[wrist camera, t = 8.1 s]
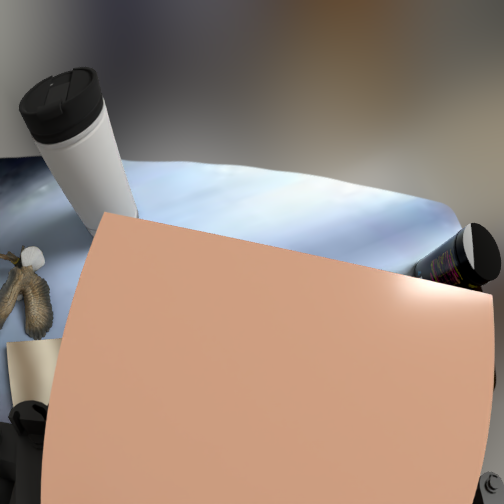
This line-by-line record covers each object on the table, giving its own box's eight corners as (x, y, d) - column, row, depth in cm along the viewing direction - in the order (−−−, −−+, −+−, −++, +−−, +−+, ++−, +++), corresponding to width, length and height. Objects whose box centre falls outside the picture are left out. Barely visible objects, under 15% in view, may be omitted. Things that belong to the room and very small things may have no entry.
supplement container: (455, 291, 36) (507, 263, 27) (428, 317, 34) (485, 292, 25) (431, 250, 38) (479, 214, 29) (402, 272, 36) (453, 236, 27)
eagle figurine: (-5, 272, 28) (-8, 341, 23) (-7, 233, 24) (-16, 311, 19) (49, 276, 33) (53, 344, 28) (55, 240, 29) (57, 315, 24)
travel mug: (91, 253, 32) (6, 127, 14) (87, 205, 34) (25, 73, 16) (143, 240, 33) (93, 96, 15) (135, 192, 35) (98, 48, 17)
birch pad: (33, 464, 21) (26, 466, 20) (13, 344, 26) (6, 342, 25) (167, 465, 24) (164, 469, 23) (139, 332, 29) (136, 329, 28)
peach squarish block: (296, 491, 13) (426, 606, 2) (147, 469, 12) (49, 594, 2) (320, 356, 16) (492, 295, 5) (173, 329, 16) (104, 211, 5)
